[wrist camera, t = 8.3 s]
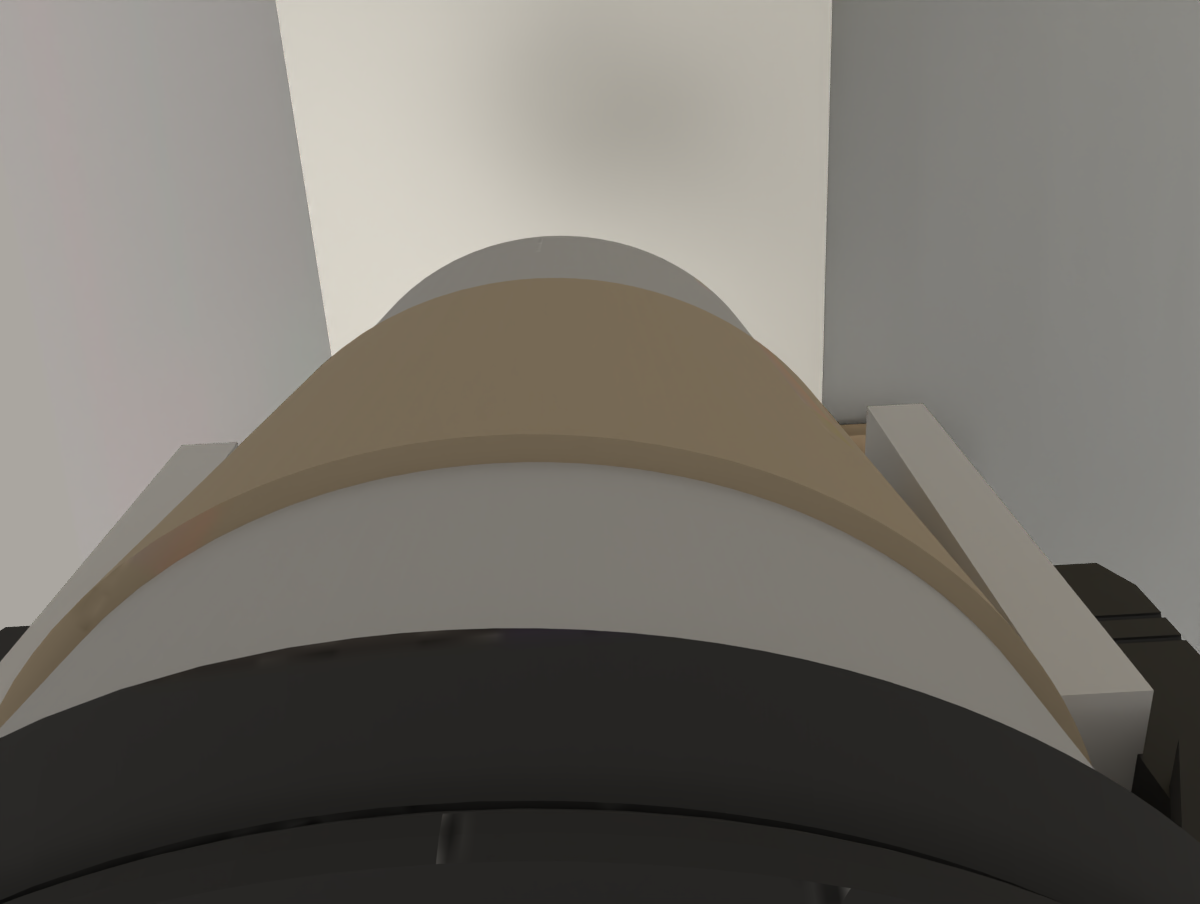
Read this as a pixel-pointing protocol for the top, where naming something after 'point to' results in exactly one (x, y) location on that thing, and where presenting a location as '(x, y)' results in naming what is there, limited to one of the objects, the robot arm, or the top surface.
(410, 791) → the coffee cup
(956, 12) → the top surface
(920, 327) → the top surface
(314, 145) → the display pad
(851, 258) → the top surface
